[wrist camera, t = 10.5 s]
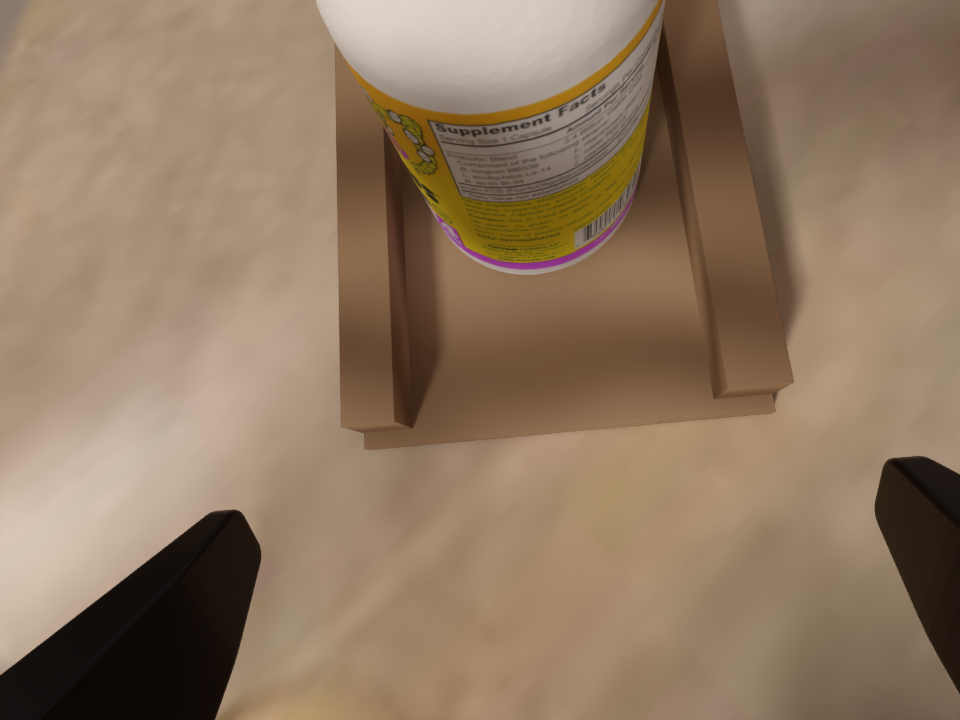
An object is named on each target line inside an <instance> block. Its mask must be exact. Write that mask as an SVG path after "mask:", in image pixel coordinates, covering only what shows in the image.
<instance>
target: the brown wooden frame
mask: <svg viewBox="0 0 960 720" xmlns="http://www.w3.org/2000/svg"><path fill="white" fill-rule="evenodd" d="M335 87H336V150H337V212H338V274H339V336H340V398H341V427H343V428H347V429H350V430H354V431H358V432H362V433H364V446H365V449H367V450H374V449H385V448H396V447H407V446H418V445H429V444H440V443H451V442H462V441H473V440H484V439H495V438H505V437H516V436H527V435H538V434H549V433H560V432H571V431H582V430H593V429H604V428H615V427H626V426H637V425H648V424H659V423H670V422H681V421H692V420H703V419H714V418H725V417H736V416H747V415H758V414H768V413H773V412H776V409H775V404H774V399H773V393H775V392H777V391H779V390H781V389H783V388H784V387H786V386H788V385H790V384H792V383H794V380H793V375H792V370H791V365H790V360H789V355H788V350H787V346H786V341H785V336H784V331H783V326H782V321H781V316H780V311H779V306H778V301H777V296H776V291H775V286H774V281H773V277H772V272H771V267H770V262H769V257H768V252H767V247H766V242H765V237H764V232H763V227H762V222H761V217H760V213H759V208H758V203H757V198H756V193H755V188H754V183H753V178H752V173H751V168H750V163H749V158H748V153H747V148H746V144H745V139H744V134H743V129H742V124H741V119H740V114H739V109H738V104H737V99H736V94H735V89H734V84H733V80H732V75H731V70H730V65H729V60H728V55H727V50H726V45H725V40H724V35H723V30H722V25H721V20H720V15H719V11H718V6H717V1H716V0H666V1H665V8H664V15H663V22H662V28H661V35H660V42H659V48H658V54H657V60H656V66H655V73H654V79H653V86H652V92H651V99H650V105H649V112H648V119H647V126H646V132H645V139H644V146H643V153H642V160H641V166H640V173H639V178H638V182H637V187H636V192H635V195H634V199H633V202H632V204H631V207H630V209H629V211H628V213H627V215H626V217H625V219H624V221H623V222H622V224H621V225H620V227H619V228H618V229H617V231H616V232H615V233H614V235H613V236H612V237H611V238H610V239H609V240H608V241H607V242H606V243H605V244H604V245H603V246H602V247H601V248H599V249H598V250H597V251H596V252H594V253H593V254H591V255H590V256H588V257H587V258H585V259H583V260H582V261H580V262H578V263H576V264H574V265H571V266H569V267H566V268H564V269H560V270H556V271H553V272H548V273H543V274H536V275H518V274H510V273H505V272H500V271H497V270H494V269H491V268H488V267H486V266H484V265H482V264H480V263H478V262H476V261H475V260H473V259H471V258H470V257H469V256H467V255H466V254H465V253H463V252H462V251H461V250H460V249H459V248H458V247H457V246H456V245H455V244H454V243H453V242H452V241H451V240H450V239H449V237H448V236H447V235H446V233H445V232H444V230H443V228H442V227H441V225H440V224H439V223H438V221H437V219H436V218H435V216H434V214H433V212H432V211H431V209H430V207H429V206H428V204H427V202H426V200H425V199H424V197H423V195H422V193H421V192H420V190H419V188H418V186H417V185H416V183H415V181H414V180H413V178H412V176H411V174H410V172H409V171H408V169H407V167H406V165H405V163H404V162H403V161H402V159H401V157H400V155H399V153H398V151H397V150H396V148H395V146H394V144H393V143H392V141H391V139H390V137H389V135H388V133H387V132H386V130H385V128H384V126H383V125H382V123H381V121H380V120H379V118H378V116H377V115H376V113H375V111H374V109H373V108H372V106H371V104H370V102H369V100H368V99H367V97H366V95H365V94H364V92H363V90H362V88H361V87H360V85H359V83H358V82H357V80H356V78H355V76H354V75H353V73H352V71H351V69H350V68H349V66H348V64H347V63H346V61H345V59H344V58H343V56H342V54H341V52H340V51H339V49H338V47H337V45H336V44H335Z"/></svg>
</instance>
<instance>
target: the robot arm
mask: <svg viewBox="0 0 960 720" xmlns="http://www.w3.org/2000/svg"><path fill="white" fill-rule="evenodd" d="M875 516H876V520H877V523H878V525H879V527H880V530H881V532H882V534H883V537H884V539H885V541H886V544H887V546H888V548H889V550H890V553H891V555H892V557H893V560H894V562H895V564H896V566H897V569H898V571H899V573H900V576H901V578H902V580H903V583H904V585H905V587H906V589H907V592H908V594H909V596H910V599H911V601H912V603H913V606H914V608H915V610H916V612H917V615H918V617H919V619H920V621H921V623H922V626H923V628H924V630H925V632H926V634H927V636H928V638H929V640H930V642H931V644H932V645H933V647H934V649H935V651H936V653H937V655H938V657H939V658H940V660H941V662H942V664H943V665H944V667H945V669H946V671H947V672H948V674H949V676H950V678H951V679H952V681H953V683H954V685H955V686H956V688H957V690H958V692H959V693H960V474H958V473H956V472H954V471H952V470H951V469H949V468H947V467H945V466H943V465H941V464H939V463H937V462H935V461H934V460H932V459H929V458H927V457H923V456H913V457H900V458H892V459H889V460H887V461H886V463H885V464H884V466H883V469H882V474H881V478H880V483H879V487H878V491H877V496H876V500H875ZM260 562H261V549H260V545H259V543H258V541H257V539H256V537H255V535H254V533H253V532H252V530H251V528H250V526H249V524H248V522H247V520H246V519H245V517H244V515H243V514H242V513H241V512H240V511H238V510H222V511H214V512H211V513H209V514H208V515H206V516H205V517H204V518H202V519H201V520H200V521H198V522H197V523H196V524H195V525H193V526H192V527H191V528H189V529H188V530H187V531H186V532H184V533H183V534H182V535H180V536H179V537H178V538H177V539H175V540H174V541H173V542H171V543H170V544H169V545H168V546H166V547H165V548H164V549H162V550H161V551H160V552H159V553H157V554H156V555H155V556H153V557H152V558H151V559H150V560H148V561H147V562H146V563H144V564H143V565H142V566H141V567H139V568H138V569H137V570H135V571H134V572H133V573H131V574H130V575H129V576H128V577H126V578H125V579H124V580H122V581H121V582H120V583H119V584H117V585H116V586H115V587H113V588H112V589H111V590H110V591H108V592H107V593H106V594H104V595H103V596H102V597H101V598H99V599H98V600H97V601H95V602H94V603H93V604H92V605H90V606H89V607H88V608H86V609H85V610H84V611H83V612H81V613H80V614H79V615H77V616H76V617H75V618H74V619H72V620H71V621H70V622H68V623H67V624H66V625H64V626H63V627H62V628H61V629H59V630H58V631H57V632H55V633H54V634H53V635H52V636H50V637H49V638H48V639H46V640H45V641H44V642H43V643H41V644H40V645H39V646H37V647H36V648H35V649H34V650H32V651H31V652H30V653H28V654H27V655H26V656H25V657H23V658H22V659H21V660H19V661H18V662H17V663H16V664H14V665H13V666H12V667H10V668H9V669H8V670H6V671H5V672H4V673H3V674H1V675H0V720H215V718H216V715H217V713H218V710H219V707H220V704H221V701H222V699H223V696H224V693H225V690H226V687H227V684H228V682H229V679H230V676H231V673H232V670H233V667H234V664H235V661H236V657H237V654H238V650H239V647H240V643H241V639H242V635H243V631H244V627H245V623H246V619H247V615H248V611H249V607H250V603H251V599H252V595H253V591H254V587H255V583H256V579H257V575H258V571H259V567H260Z"/></svg>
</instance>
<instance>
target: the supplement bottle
mask: <svg viewBox="0 0 960 720" xmlns="http://www.w3.org/2000/svg"><path fill="white" fill-rule="evenodd" d="M665 1H666V0H316V3H317V6H318V9H319V12H320V14H321V16H322V19H323V21H324V23H325V25H326V26H327V28H328V30H329V32H330V34H331V36H332V38H333V40H334V42H335V44H336V45H337V47H338V49H339V51H340V52H341V54H342V56H343V58H344V59H345V61H346V63H347V64H348V66H349V68H350V69H351V71H352V73H353V75H354V76H355V78H356V80H357V82H358V83H359V85H360V87H361V88H362V90H363V92H364V94H365V95H366V97H367V99H368V100H369V102H370V104H371V106H372V108H373V109H374V111H375V113H376V115H377V116H378V118H379V120H380V121H381V123H382V125H383V126H384V128H385V130H386V132H387V133H388V135H389V137H390V139H391V141H392V143H393V144H394V146H395V148H396V150H397V151H398V153H399V155H400V157H401V159H402V161H403V162H404V163H405V165H406V167H407V169H408V171H409V172H410V174H411V176H412V178H413V180H414V181H415V183H416V185H417V186H418V188H419V190H420V192H421V193H422V195H423V197H424V199H425V200H426V202H427V204H428V206H429V207H430V209H431V211H432V212H433V214H434V216H435V218H436V219H437V221H438V223H439V224H440V225H441V227H442V228H443V230H444V232H445V233H446V235H447V236H448V237H449V239H450V240H451V241H452V242H453V243H454V244H455V245H456V246H457V247H458V248H459V249H460V250H461V251H462V252H463V253H465V254H466V255H467V256H469V257H470V258H471V259H473V260H475V261H476V262H478V263H480V264H482V265H484V266H486V267H488V268H491V269H494V270H497V271H500V272H505V273H510V274H518V275H536V274H543V273H548V272H553V271H556V270H560V269H564V268H566V267H569V266H571V265H574V264H576V263H578V262H580V261H582V260H583V259H585V258H587V257H588V256H590V255H591V254H593V253H594V252H596V251H597V250H598V249H599V248H601V247H602V246H603V245H604V244H605V243H606V242H607V241H608V240H609V239H610V238H611V237H612V236H613V235H614V233H615V232H616V231H617V229H618V228H619V227H620V225H621V224H622V222H623V221H624V219H625V217H626V215H627V213H628V211H629V209H630V207H631V204H632V202H633V199H634V195H635V192H636V187H637V182H638V178H639V173H640V166H641V160H642V153H643V146H644V139H645V132H646V126H647V119H648V112H649V105H650V99H651V92H652V86H653V79H654V73H655V66H656V60H657V54H658V48H659V42H660V35H661V28H662V22H663V15H664V8H665Z"/></svg>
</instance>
